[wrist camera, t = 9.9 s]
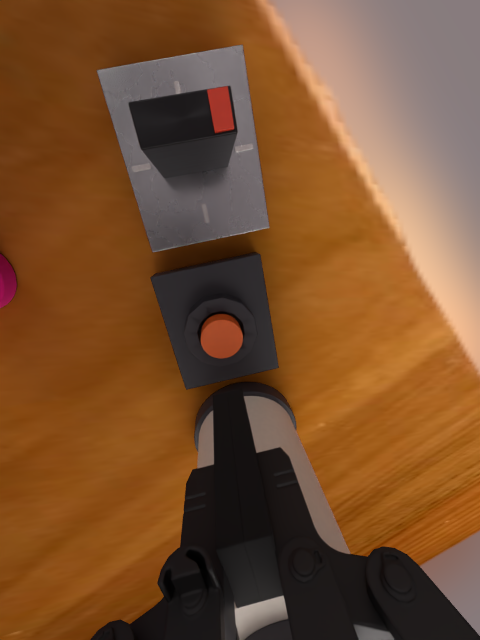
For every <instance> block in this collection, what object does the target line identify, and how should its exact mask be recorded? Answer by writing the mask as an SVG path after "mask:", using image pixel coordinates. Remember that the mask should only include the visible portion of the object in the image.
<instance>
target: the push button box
mask: <svg viewBox="0 0 480 640" xmlns="http://www.w3.org/2000/svg"><path fill="white" fill-rule="evenodd" d="M151 281H152V284H153V287H154V291H155V294H156V297H157V300H158V303H159V306H160V309H161V312H162V316H163V319H164V322H165V325H166V328H167V331H168V334H169V337H170V341H171V344H172V347H173V350H174V353H175V356H176V359H177V362H178V366H179V369H180V372H181V375H182V378H183V381H184V384H185V387H186V389H191V388H195V387H200V386H204V385H208V384H212V383H216V382H221V381H225V380H229V379H233V378H238V377H242V376H246V375H250V374H254V373H259V372H263V371H267V370H271V369H276V368H279V366H278V360H277V354H276V348H275V342H274V336H273V329H272V323H271V317H270V311H269V305H268V299H267V293H266V287H265V281H264V274H263V268H262V262H261V256H260V254H259V253H256V252H254V253H249V254H245V255H240V256H235V257H231V258H226V259H221V260H217V261H212V262H207V263H203V264H198V265H193V266H189V267H184V268H179V269H175V270H170V271H165V272H161V273H156V274H154V275H153V276H152V277H151ZM216 314H227V315H230V316H232V317H233V318H235V319H236V320H237V322H238V323H239V325H240V328H241V331H242V335H243V342H242V345H241V347H240V349H239V350H238V352H236V353H235V354H234V355H232V356H230V357H228V358H215V357H212V356H210V355H209V354H207V353H206V352H205V350H204V349H203V347H202V345H201V329H202V326H203V324H204V322H205V321H206V320H207V319H208V318H209V317H211V316H213V315H216Z"/></svg>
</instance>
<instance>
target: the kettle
mask: <svg viewBox="0 0 480 640" xmlns="http://www.w3.org/2000/svg"><path fill="white" fill-rule="evenodd" d="M241 388H242V391H243V395H244V399H245V404H246V408H247V413H248V417H249V421H250V426H251V430H252V435H253V439H254V444H255V449H256V453H258V452H262V451H266V450H270V449H274V448H278V447H281V448H282V449H283V450H284V451H285V452H286V454H287V455H288V456H289V457H290V460H291V463H292V465H293V468H294V471H295V474H296V476H297V479H298V483H299V485H300V488H301V490H302V493H303V496H304V499H305V501H306V504H307V507H308V510H309V513H310V515H311V518H312V521H313V524H314V526H315V528H316V530H317V533H318V534H319V536H320V537H321V538H322V540H323V541H324V542H325V543H327V544H328V545H329V546H330V547H332V548H333V549H335V550H337V551H339V552H343V553H346V554H350V552H349V549H348V547H347V545H346V543H345V540H344V538H343V536H342V534H341V531H340V529H339V527H338V525H337V522H336V520H335V518H334V516H333V513H332V511H331V509H330V506H329V504H328V502H327V500H326V497H325V495H324V493H323V491H322V488H321V486H320V484H319V482H318V479H317V477H316V475H315V473H314V470H313V468H312V466H311V464H310V461H309V459H308V457H307V455H306V452H305V450H304V448H303V446H302V443H301V441H300V439H299V436H298V434H297V432H296V421H295V417H294V415H293V412H292V410H291V408H290V406H289V404H288V402H287V400H286V399H285V398H284V396H283V395H282V394H281V393H280V392H278V391H277V390H275V389H274V388H272V387H270V386H268V385H265V384H262V383H256V382H240V383H235V384H231V385H228V386H226V387H223V388H221V389H220V390H218V391H216V392H215V393H213V394H212V395H211V396H210V397H209V398H208V399H207V400H206V401H205V402H204V403H203V405H202V406H201V408H200V409H199V412H198V414H197V417H196V423H195V436H194V438H195V445H196V449H197V451H198V465H197V468H201V467H205V466H209V465H213V464H214V439H213V395H216V394H220V393H225V392H229V391H233V390H237V389H241ZM234 606H235V621H236V627H237V630H238V635H239V639H240V640H293V639H292V634H291V630H290V625H289V620H288V615H287V610H286V605H285V600H284V596H280V597H277V598H273V599H269V600H266V601H262V602H258V603H255V604H251V605H248V606H244V607H240V608H236V605H235V602H234Z"/></svg>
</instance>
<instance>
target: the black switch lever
mask: <svg viewBox="0 0 480 640" xmlns="http://www.w3.org/2000/svg"><path fill="white" fill-rule="evenodd" d="M129 108H130V112H131V116H132V119H133V123H134V127H135V130H136V134H137V138H138V141H139V145H140V149H141V150H142V151H143V153H144V154H145V155H146V156H147V158H148V159H149V160H150V161H151V162H152V164H153V165H154V166H155V167H156V169H157V170H158V171H159V172H160V174H161V175H162V176H163V177H164V178H170V177H175V176H181V175H186V174H192V173H197V172H203V171H208V170H213V169H219V168H224V167H228V165H229V161H230V158H231V154H232V151H233V147H234V144H235V140H236V137H237V133H238V129H237V123H236V116H235V110H234V103H233V97H232V91H231V87H230V86H229V85H228V86H222V87H216V88H210V89H204V90H198V91H192V92H186V93H180V94H174V95H168V96H162V97H156V98H150V99H144V100H138V101H132V102H129Z"/></svg>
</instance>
